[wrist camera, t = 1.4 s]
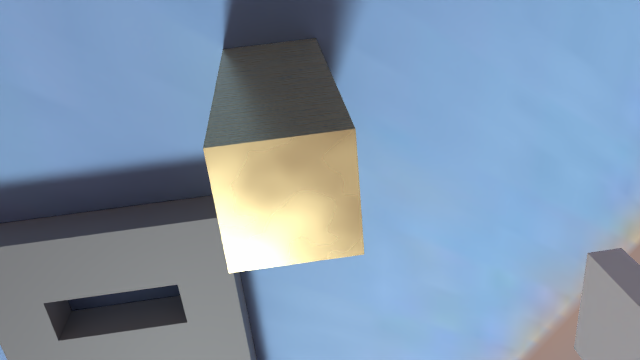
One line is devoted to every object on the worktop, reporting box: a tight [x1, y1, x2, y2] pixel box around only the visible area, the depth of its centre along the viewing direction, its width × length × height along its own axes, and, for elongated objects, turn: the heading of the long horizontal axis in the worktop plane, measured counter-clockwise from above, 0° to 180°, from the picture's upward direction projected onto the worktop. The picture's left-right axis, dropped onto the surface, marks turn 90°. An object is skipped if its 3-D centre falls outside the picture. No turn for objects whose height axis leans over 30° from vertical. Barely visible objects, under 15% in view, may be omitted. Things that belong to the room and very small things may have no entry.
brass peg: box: [203, 38, 364, 273], centre depth 23 cm, size 4×4×12 cm
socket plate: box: [0, 195, 257, 360], centre depth 33 cm, size 13×19×2 cm
